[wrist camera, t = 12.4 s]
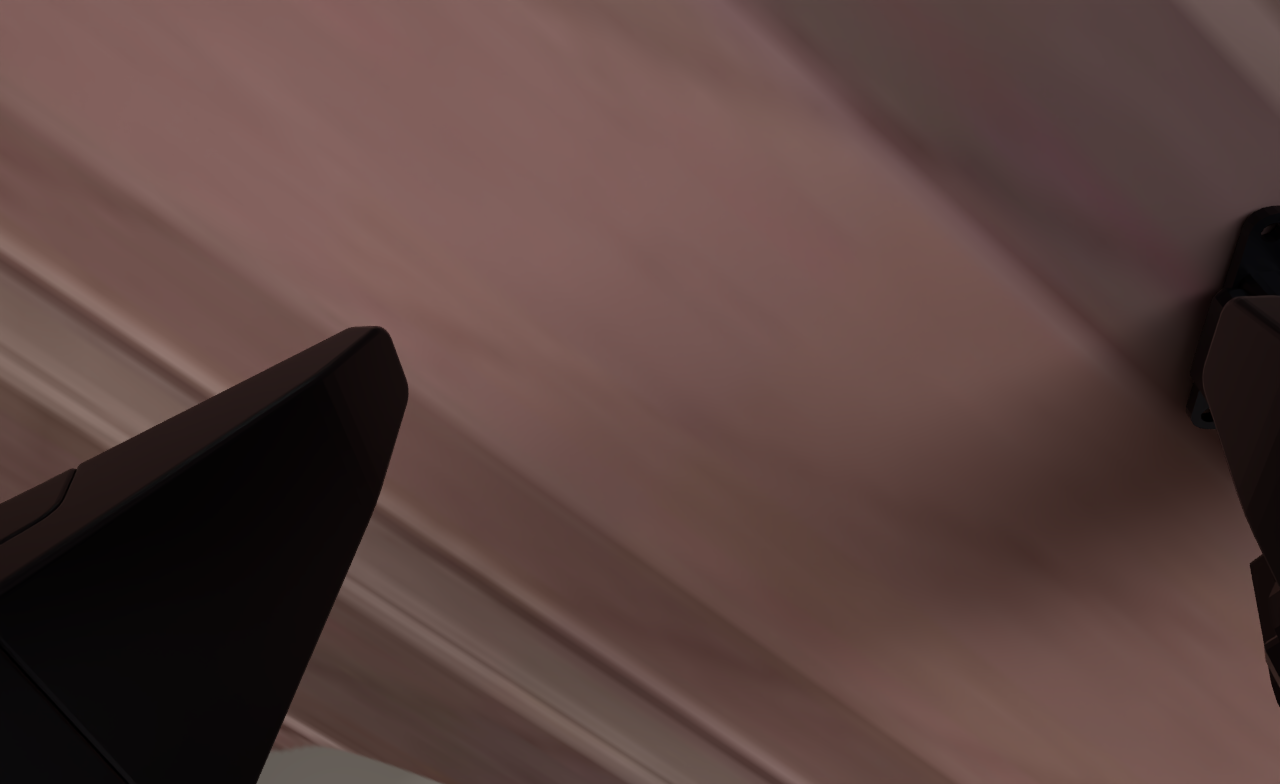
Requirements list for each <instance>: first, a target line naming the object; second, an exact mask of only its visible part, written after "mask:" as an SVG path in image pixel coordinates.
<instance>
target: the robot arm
mask: <svg viewBox="0 0 1280 784" xmlns="http://www.w3.org/2000/svg"><path fill="white" fill-rule="evenodd" d="M1273 223H1278V226H1277V227H1276V229H1275V230H1274V231H1272V232H1271V233H1269V234H1265V235H1261V232H1262V231H1263V229H1264V228H1265V227H1267V226H1268V225H1270V224H1273ZM1190 376H1191V378H1192V379H1193V381H1194V383H1193V386H1192V390H1191V393H1190V396H1189V399H1188V402H1187V406H1186V412H1187V414H1188V416H1189V417H1190V419H1191V421H1192V422H1193V424H1194V425H1195V426H1197V427H1199V428H1203V429H1216V430H1217V433H1218V436H1219V439H1220V442H1221V445H1222V448H1223V451H1224V454H1225V458H1226V461H1227V464H1228V467H1229V470H1230V473H1231V476H1232V479H1233V482H1234V486H1235V489H1236V492H1237V495H1238V498H1239V500H1240V503H1241V506H1242V509H1243V511H1244V514H1245V516H1246V519H1247V521H1248V523H1249V525H1250V528H1251V530H1252V532H1253V534H1254V537H1255V539H1256V541H1257V543H1258V545H1259V547H1260V549H1261V551H1262V553H1263V554H1262V555H1261V556H1259V557H1258V558H1257V559H1255V560H1254V561H1252V562H1251V563H1250V569H1251V575H1252V580H1253V586H1254V591H1255V597H1256V602H1257V608H1258V613H1259V619H1260V624H1261V630H1262V635H1263V641H1264V649H1265V659H1266V663H1267V664H1268V668H1269V673H1270V679H1271V684H1272V687H1273V691H1274V694H1275V697H1276V700H1277V703H1278V705H1279V707H1280V206H1270V207H1265V208H1262V209H1260V210H1258V211H1256V212H1254V213H1253V214H1252V215H1251V216H1249V217H1248V218H1247V219H1246V221H1245V223H1244V225H1243V227H1242V230H1241V233H1240V236H1239V240H1238V243H1237V246H1236V249H1235V252H1234V256H1233V259H1232V262H1231V265H1230V268H1229V271H1228V275H1227V278H1226V281H1225V284H1224V287H1223V289H1221V290H1220V291H1219V292H1218V293H1217V294H1216V295H1215V296H1214V297H1213V298H1212V301H1211V305H1210V308H1209V311H1208V314H1207V318H1206V321H1205V324H1204V327H1203V331H1202V334H1201V337H1200V340H1199V344H1198V347H1197V350H1196V353H1195V357H1194V360H1193V363H1192V366H1191V370H1190ZM407 402H408V384H407V380H406V377H405V374H404V372H403V369H402V366H401V363H400V361H399V358H398V355H397V352H396V350H395V347H394V344H393V341H392V339H391V337H390V335H389V333H388V332H387V331H386V330H385V329H384V328H382V327H379V326H363V327H351V328H348V329H345V330H343V331H342V332H340V333H338V334H336V335H334V336H332V337H330V338H328V339H326V340H324V341H322V342H320V343H318V344H316V345H314V346H312V347H310V348H308V349H306V350H304V351H302V352H300V353H298V354H296V355H294V356H292V357H290V358H288V359H286V360H284V361H282V362H280V363H278V364H276V365H274V366H273V367H271V368H269V369H267V370H265V371H263V372H261V373H259V374H257V375H255V376H253V377H251V378H249V379H247V380H245V381H243V382H241V383H239V384H237V385H235V386H233V387H231V388H229V389H227V390H225V391H223V392H221V393H219V394H217V395H215V396H213V397H211V398H209V399H207V400H206V401H204V402H202V403H200V404H198V405H196V406H194V407H192V408H190V409H188V410H186V411H184V412H182V413H180V414H178V415H176V416H174V417H172V418H170V419H168V420H166V421H164V422H162V423H160V424H158V425H156V426H154V427H152V428H150V429H148V430H146V431H144V432H142V433H140V434H138V435H137V436H135V437H133V438H131V439H129V440H127V441H125V442H123V443H121V444H119V445H117V446H115V447H113V448H111V449H109V450H107V451H105V452H103V453H101V454H99V455H97V456H95V457H93V458H91V459H89V460H87V461H85V462H83V463H81V464H80V465H79V466H78V468H77V469H74V468H72V469H69V470H67V471H65V472H63V473H61V474H59V475H57V476H55V477H53V478H51V479H49V480H48V481H46V482H44V483H42V484H40V485H38V486H36V487H34V488H32V489H30V490H27V491H25V492H23V493H21V494H19V495H17V496H15V497H13V498H11V499H9V500H7V501H5V502H3V503H1V504H0V784H256V783H257V781H258V779H259V776H260V774H261V772H262V769H263V767H264V765H265V762H266V760H267V758H268V755H269V753H270V751H271V748H272V746H273V744H274V741H275V739H276V737H277V735H278V732H279V730H280V728H281V725H282V723H283V721H284V718H285V716H286V714H287V711H288V709H289V707H290V704H291V702H292V700H293V697H294V695H295V693H296V690H297V688H298V686H299V683H300V681H301V679H302V676H303V674H304V672H305V670H306V667H307V665H308V663H309V660H310V658H311V656H312V653H313V651H314V649H315V646H316V644H317V642H318V639H319V637H320V635H321V632H322V630H323V628H324V625H325V623H326V621H327V618H328V616H329V614H330V611H331V609H332V607H333V604H334V602H335V600H336V598H337V595H338V593H339V591H340V588H341V586H342V584H343V581H344V579H345V577H346V574H347V572H348V570H349V567H350V565H351V563H352V560H353V558H354V556H355V553H356V551H357V549H358V546H359V544H360V542H361V539H362V537H363V535H364V532H365V530H366V528H367V526H368V523H369V521H370V518H371V516H372V513H373V511H374V508H375V506H376V503H377V500H378V497H379V494H380V491H381V489H382V486H383V482H384V479H385V476H386V472H387V469H388V466H389V462H390V459H391V456H392V452H393V449H394V446H395V442H396V439H397V436H398V432H399V429H400V426H401V422H402V419H403V416H404V412H405V409H406V406H407ZM1209 408H1210V411H1211V412H1209V413H1203V412H1204V411H1205V410H1207V409H1209Z"/></svg>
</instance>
